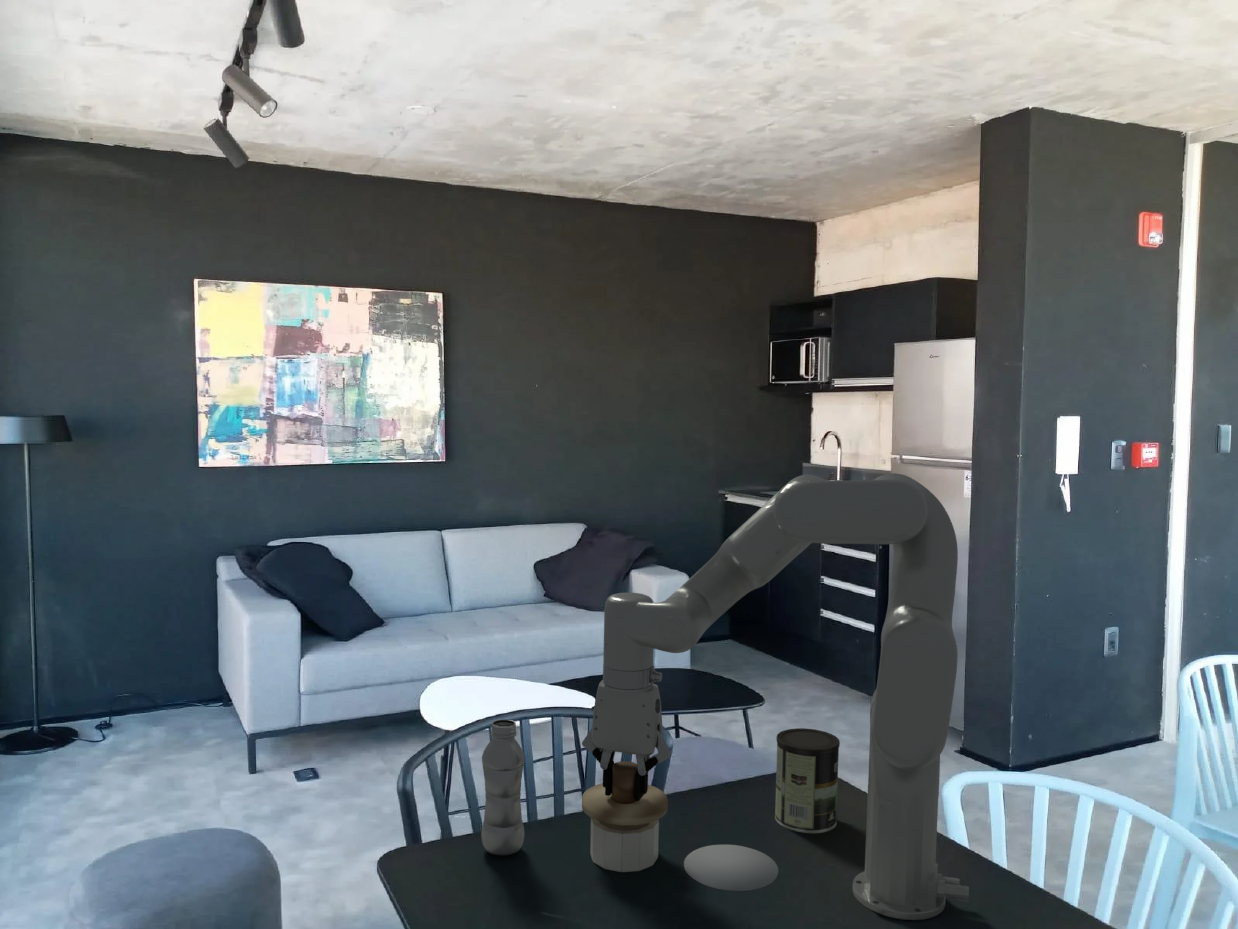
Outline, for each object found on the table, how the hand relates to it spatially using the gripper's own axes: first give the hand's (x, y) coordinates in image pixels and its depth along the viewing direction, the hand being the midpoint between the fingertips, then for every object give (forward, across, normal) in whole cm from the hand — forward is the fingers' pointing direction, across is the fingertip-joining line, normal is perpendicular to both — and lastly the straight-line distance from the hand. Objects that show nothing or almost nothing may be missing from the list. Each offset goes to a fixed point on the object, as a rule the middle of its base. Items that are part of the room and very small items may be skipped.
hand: (624, 793), depth 145 cm
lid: (+2, 0, 0) cm, 2 cm away
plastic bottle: (+10, +18, +5) cm, 21 cm away
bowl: (+10, 0, 0) cm, 10 cm away
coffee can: (+10, -24, -23) cm, 35 cm away
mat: (+10, -16, -2) cm, 19 cm away
